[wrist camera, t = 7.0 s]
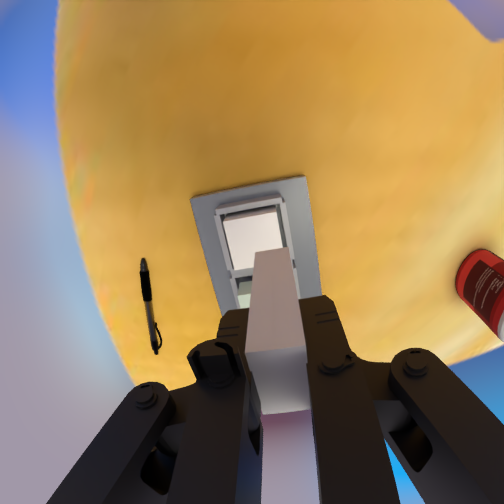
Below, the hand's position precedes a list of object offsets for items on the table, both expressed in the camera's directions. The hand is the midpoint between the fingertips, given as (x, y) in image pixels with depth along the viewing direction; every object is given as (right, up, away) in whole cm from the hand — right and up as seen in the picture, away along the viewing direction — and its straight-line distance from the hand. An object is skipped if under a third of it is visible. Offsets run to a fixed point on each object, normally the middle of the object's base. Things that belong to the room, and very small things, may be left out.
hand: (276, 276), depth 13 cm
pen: (-13, -6, +21) cm, 25 cm away
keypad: (+1, -2, +18) cm, 18 cm away
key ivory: (-1, +3, +14) cm, 14 cm away
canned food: (+29, -2, +17) cm, 33 cm away
